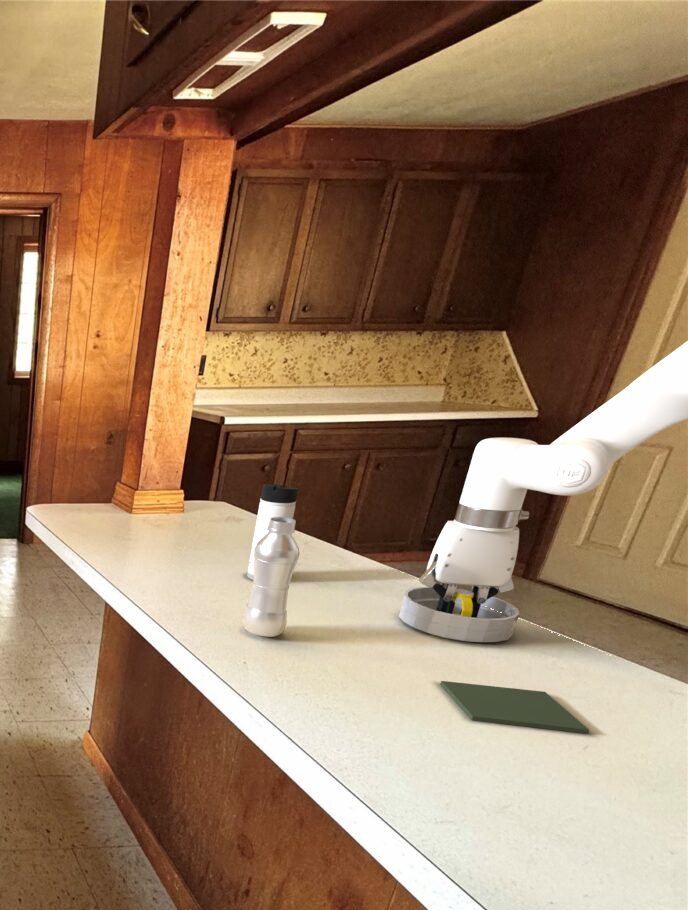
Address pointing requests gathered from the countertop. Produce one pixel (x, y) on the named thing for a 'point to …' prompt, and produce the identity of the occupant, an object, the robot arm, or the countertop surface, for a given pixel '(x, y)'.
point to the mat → (512, 707)
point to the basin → (458, 617)
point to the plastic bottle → (272, 579)
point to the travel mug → (271, 512)
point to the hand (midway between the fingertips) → (453, 620)
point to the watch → (464, 601)
